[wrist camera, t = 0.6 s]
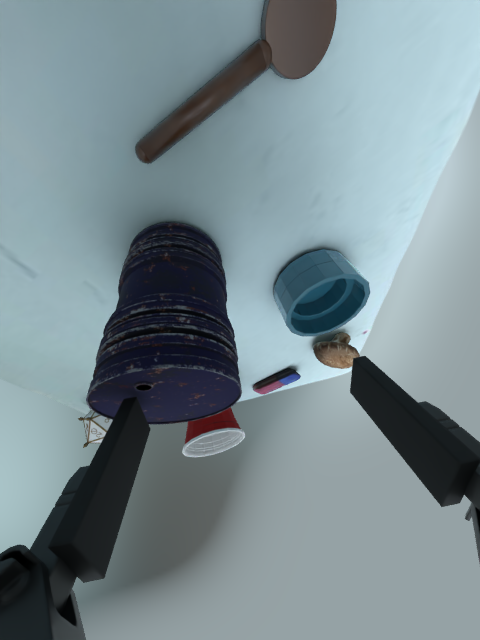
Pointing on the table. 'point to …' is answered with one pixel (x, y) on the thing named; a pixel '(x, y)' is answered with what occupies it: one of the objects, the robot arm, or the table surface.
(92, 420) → the game die
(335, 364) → the mushroom
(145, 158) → the spoon
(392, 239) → the table surface
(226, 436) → the plastic cup
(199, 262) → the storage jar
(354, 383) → the robot arm
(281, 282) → the bowl
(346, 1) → the table surface
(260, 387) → the eraser
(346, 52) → the table surface
